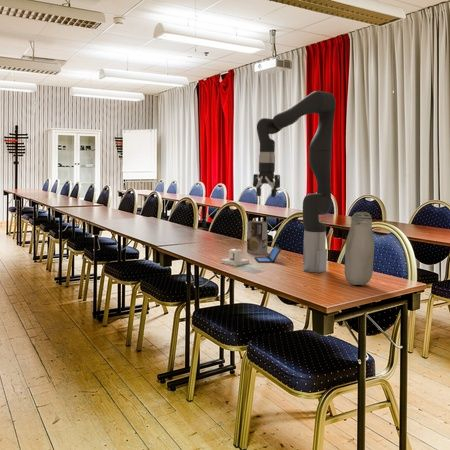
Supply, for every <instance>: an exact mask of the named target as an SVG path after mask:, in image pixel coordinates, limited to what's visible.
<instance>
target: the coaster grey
mask: <svg viewBox="0 0 450 450" xmlns="http://www.w3.org/2000/svg"><path fill="white" fill-rule="evenodd" d="M246 272H247V273H251V274H259V273H264V272H265V271H264V270H259V269H257V268H253V269H248V270H245V273H246Z"/></svg>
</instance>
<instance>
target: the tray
mask: <svg viewBox="0 0 450 450" xmlns="http://www.w3.org/2000/svg"><path fill="white" fill-rule="evenodd" d="M220 263H221V264H225V265H228V266H229V265H231V266H234V267H237V266H238V267H239V266H244V265H246V264H250V259H245V258H242V261H239V262H232V261H229V257H228V258H222V259H221V260H220Z"/></svg>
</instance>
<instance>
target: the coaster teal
mask: <svg viewBox="0 0 450 450" xmlns="http://www.w3.org/2000/svg"><path fill="white" fill-rule="evenodd" d="M247 266H248V265H240V266H238V267H237V266H235V269H238V270H244V271H247V270H251V269H254V268H252V267H247Z"/></svg>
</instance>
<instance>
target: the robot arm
mask: <svg viewBox="0 0 450 450" xmlns="http://www.w3.org/2000/svg"><path fill="white" fill-rule="evenodd" d="M336 103H337V101H336V98H335V96H334V94H333V93H331V92H329V91H321V90H314V91H312V92H310V93H309V94H308V95H307V96H305V97H303V98H302V99H301V100H298V102H297V103H295V104H294V105H292V106H290V107H288V108H285V109H284V110H282V111H279V112H277V113H275V115H274V116H273V118H265V117H262V118H260V119H258V121H257V124H256V132H257V136H258V141H259V155H258V173H254V174H253V179H252V181H253V182H252V187H254V188H256V190H255V191H256V192H255V193H256V196H257V197H261V196H262V186H264V184H267V185H269V186H270V188H271V190H270V192H271V198H276V196H277V189H280V187H281V175H280V174H275V171H276V169H275V168H276V155H275V154H276V153H275V152H276V151H275V150H276V147H275V146H276V142H275V140H274V139H272V138H271V137H270V135H274V134H277V133H279V132H280V131H282V129H285V128H287V127H288V126H291V125H293V124H294V123H296V122H297V121H298V120H299V119H300V118H301V117H303V116H306V115H310V114H315V115H318V124H317V129H316V132H315V134H314V135H313V137H312V139H311V141H310V145H309V148H308V162H309V166H310V169H311V171H312V173H313V175H314V178H315V180H316V193H314V192H313V193H308V194H306V195H305V196H304V198H303V201H302V225H303V229H304V230H303V248H302V249H303V252H302V253H303V254H302V270H303V272H307V273H310V272H311V273H318V274H319V273H324V272H326V271H327V264H328V263H327V262H328V261H327V260H328V248H326V244H327V243H326V239H327V225H326V223H324V222H321V221H320V218H319V217H320V216H322V215H324V216H325V215H327V214H328V213H330V210H331V207H332V188H331V170H332V169H331V168H332V167H331V166H332V153H333V152H332V150H333V148H332V147H333V146H332V145H333V144H332V141H333V130H334V129H333V127H334V120H335V114H336V106H337V105H336Z"/></svg>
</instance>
